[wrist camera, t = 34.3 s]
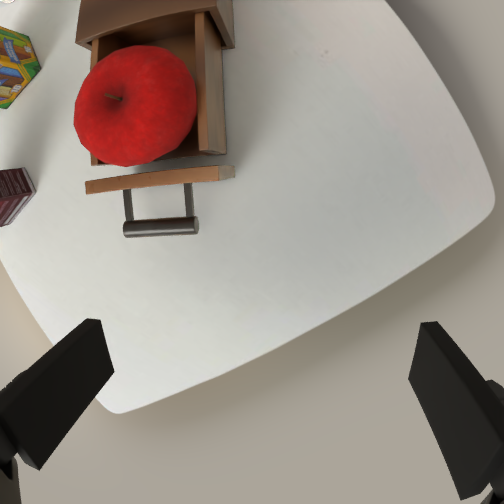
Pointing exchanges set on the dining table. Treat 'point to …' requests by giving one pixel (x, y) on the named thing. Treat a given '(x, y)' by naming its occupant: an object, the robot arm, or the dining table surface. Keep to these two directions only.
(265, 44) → the dining table surface
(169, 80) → the apple
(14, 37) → the chalk box
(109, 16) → the cabinet
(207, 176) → the drawer
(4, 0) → the cup
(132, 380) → the dining table surface
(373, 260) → the dining table surface
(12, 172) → the supplement box
